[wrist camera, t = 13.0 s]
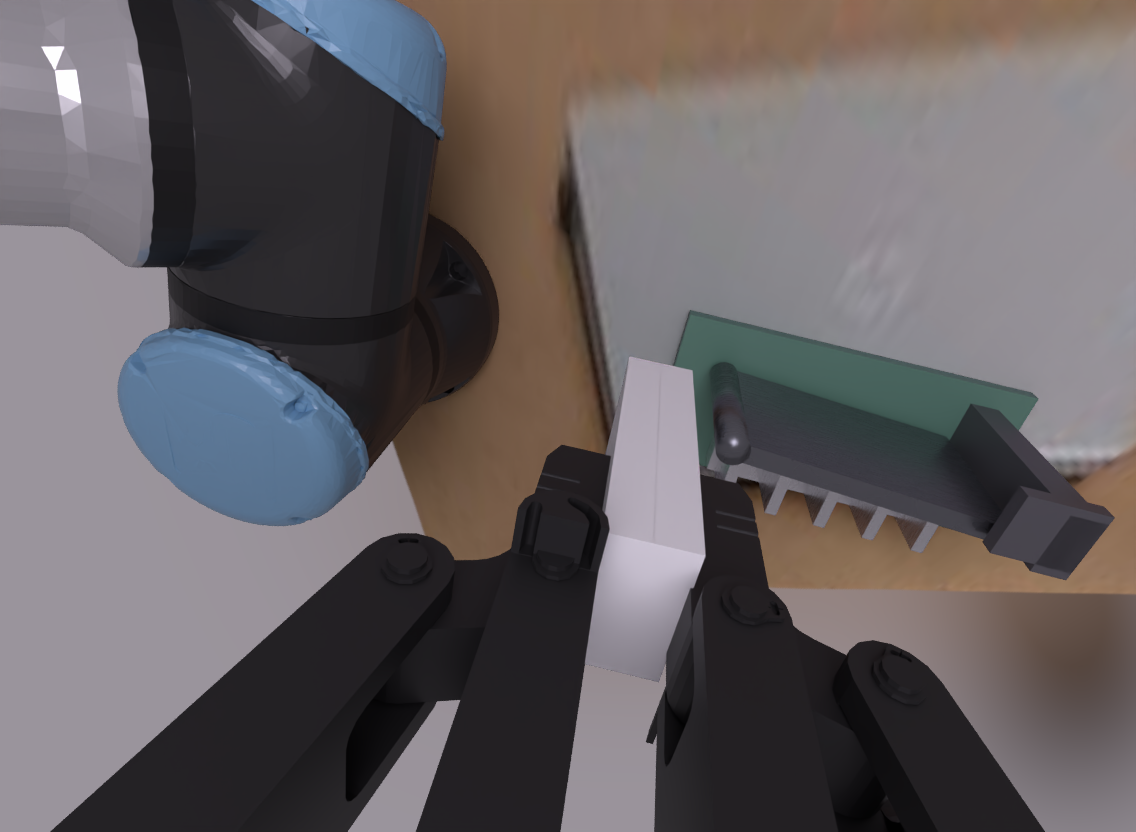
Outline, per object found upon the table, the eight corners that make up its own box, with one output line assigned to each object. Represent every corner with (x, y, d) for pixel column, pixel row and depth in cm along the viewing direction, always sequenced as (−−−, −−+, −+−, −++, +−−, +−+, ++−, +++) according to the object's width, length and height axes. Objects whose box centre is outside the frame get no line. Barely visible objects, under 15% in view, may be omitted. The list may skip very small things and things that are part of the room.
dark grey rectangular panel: (705, 382, 47) (710, 459, 37) (715, 358, 46) (723, 431, 36) (934, 454, 47) (999, 550, 37) (949, 431, 46) (1020, 524, 36)
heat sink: (706, 455, 51) (708, 498, 46) (725, 401, 48) (730, 440, 43) (904, 505, 50) (930, 555, 45) (934, 453, 48) (965, 499, 42)
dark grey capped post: (911, 441, 47) (985, 559, 36) (939, 388, 45) (1028, 496, 33) (971, 456, 47) (1065, 580, 35) (1002, 404, 45) (1114, 517, 33)
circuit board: (649, 445, 52) (648, 451, 52) (690, 310, 47) (690, 314, 46) (950, 522, 51) (955, 530, 50) (1031, 392, 45) (1038, 398, 44)
